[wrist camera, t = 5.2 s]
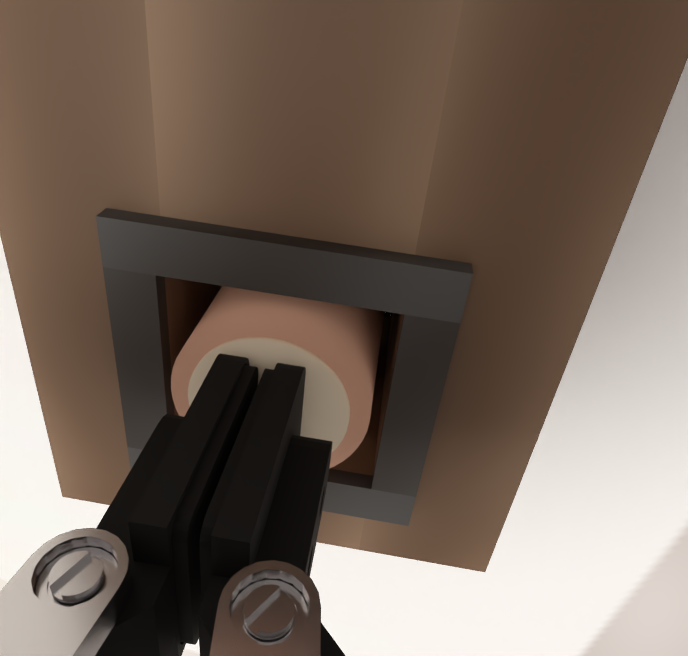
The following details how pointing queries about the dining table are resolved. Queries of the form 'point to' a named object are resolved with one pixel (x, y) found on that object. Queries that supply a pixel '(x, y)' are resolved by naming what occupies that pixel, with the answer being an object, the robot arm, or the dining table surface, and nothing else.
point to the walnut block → (327, 218)
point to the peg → (292, 357)
